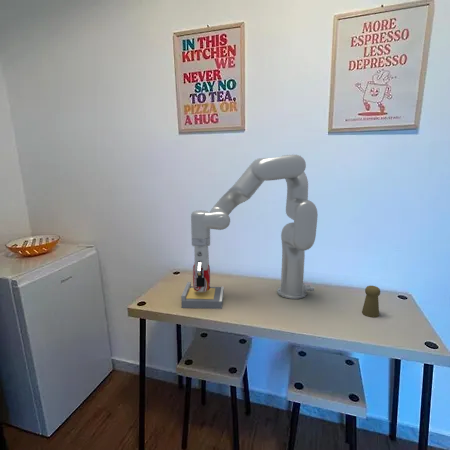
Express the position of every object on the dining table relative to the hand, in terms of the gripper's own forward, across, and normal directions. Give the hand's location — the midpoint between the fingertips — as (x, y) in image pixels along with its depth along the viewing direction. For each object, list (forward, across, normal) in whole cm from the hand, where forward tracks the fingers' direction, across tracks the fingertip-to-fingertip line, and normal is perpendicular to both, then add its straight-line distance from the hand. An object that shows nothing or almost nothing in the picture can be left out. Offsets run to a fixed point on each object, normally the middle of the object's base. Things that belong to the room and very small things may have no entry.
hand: (201, 282), depth 130 cm
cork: (+8, -9, -66) cm, 67 cm away
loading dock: (+8, 0, -1) cm, 8 cm away
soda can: (+4, 0, 0) cm, 4 cm away
